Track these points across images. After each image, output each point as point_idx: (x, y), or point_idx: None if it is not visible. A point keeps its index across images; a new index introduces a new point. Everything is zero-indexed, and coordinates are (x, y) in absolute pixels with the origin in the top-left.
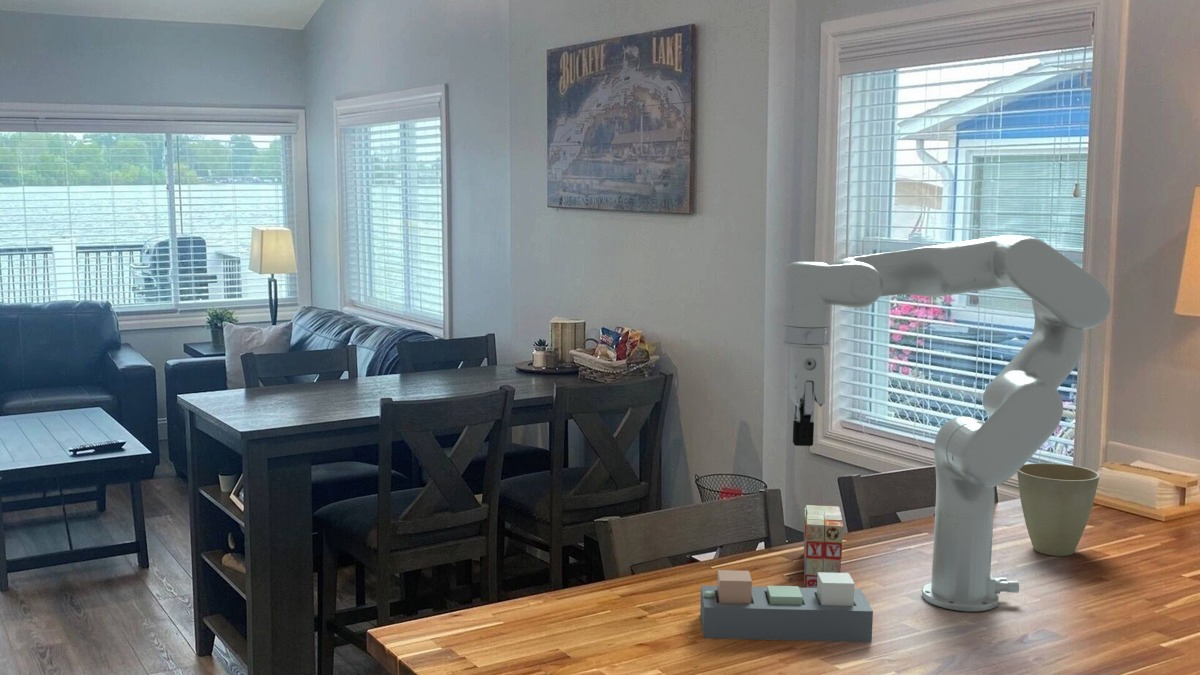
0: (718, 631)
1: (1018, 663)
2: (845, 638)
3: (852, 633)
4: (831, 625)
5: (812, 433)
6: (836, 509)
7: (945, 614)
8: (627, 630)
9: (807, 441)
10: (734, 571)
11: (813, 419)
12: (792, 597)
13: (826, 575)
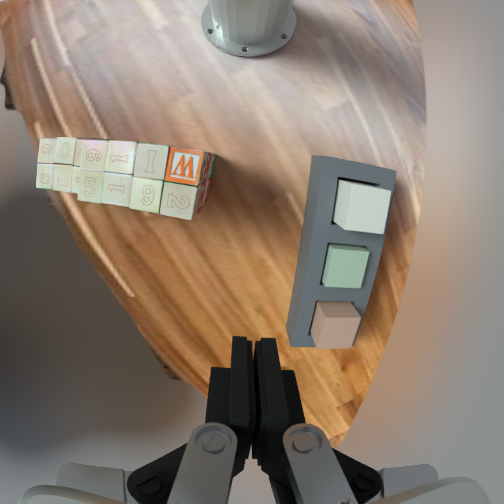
0: None
1: (419, 58)
2: None
3: None
4: None
5: (280, 376)
6: (99, 146)
7: (299, 51)
8: (314, 377)
9: (291, 370)
10: (324, 332)
11: (326, 441)
12: (366, 263)
13: (358, 220)
